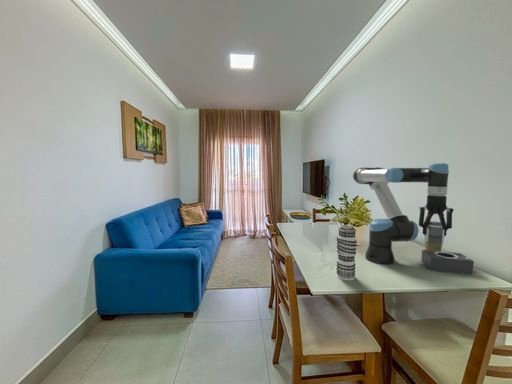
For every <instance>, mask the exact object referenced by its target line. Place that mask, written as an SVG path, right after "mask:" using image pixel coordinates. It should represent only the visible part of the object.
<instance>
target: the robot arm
mask: <svg viewBox="0 0 512 384" xmlns="http://www.w3.org/2000/svg"><path fill="white" fill-rule="evenodd" d="M428 166H429V167H390V168H389V167H388V168H385V167H379V166H378V167H360V168H357V169H356V170H355V171H353V174H352V178H353V181H355V182H356V183H357V184H359V185H369V188H370V189H371V190H373V191H374V193H375V195H376V197H377V199H378V201H379V203H380V206H381V207H382V209H383V211H384V212H383V213H384V214H385V216H386V218H376V219H373V220H371V222H370V223H369V229H368V230H369V234H368V236H369V238H368V240H369V242H368V247H367V249H366V252H365V254H364V255H365V259H366V260H367V261H369V262H372V263H376V264H382V265H391V264H394V263H395V255H394V251H393V248H392V244H393V243H394V242H395V243H396V242H406V243H407V242H411V241H414V240H416V239H417V238H418V234H419V227H421V228H422V235H423V236H424V235H425V236H424V238H423V239H424V242H425V241H426V242H428V237H429V229H428V225H429V222H430V221H432V218H433V216H434V215H437V216H438V218H439V222H441V223H442V233H441V236H442V237H441V243H443V244H444V243H445V240H444V239H445V237H446V236H447V231H448V230H449V229H450V230H451V229H453V212H454V208H451V207H448V206H447V197H448V196H447V194H448V184H449V183H448V182H449V181H448V180H449V174H450V172H449V164H448V163H445V162H444V163H442V162H441V163H430V164H429V165H428ZM389 183H427V191H426V192H427V196H426V205H425V206H419V207H418V208H419V219H418V224H417V223H416V222H415V221H413V220H410V219H409V217H408V215H406V214H403V212H402V210H401V208H400V206H399V205H398V203H397V200H396V199H395V197H394V194H393V193H392V191H391V189H390V187H389V185H388V184H389ZM426 210H427V211H428V212H427V215H425V211H426ZM445 211H446V219H445V215H444V212H445ZM425 216H426V217H425ZM418 226H419V227H418Z"/></svg>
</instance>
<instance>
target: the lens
mask: <svg viewBox="0 0 512 384" xmlns="http://www.w3.org/2000/svg"><path fill="white" fill-rule="evenodd" d="M427 228H428V229H429V237H428V242H429V243H433V244H441V237H442V236H441V233H442V223H441V222H440V221H435V220H433V221H432V220H430V222H429V225H428V227H427Z"/></svg>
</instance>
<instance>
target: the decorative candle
mask: <svg viewBox="0 0 512 384" xmlns="http://www.w3.org/2000/svg"><path fill="white" fill-rule="evenodd" d="M356 232H357V229H356V228H355V227H354V226H352V225H347V224H346V225H345V224H343V225H341V226H340V227H339V228H338V235H337V238H336V241H337V242H336V248H337V250H336V253H337V261H336V272H335V273H336V277H337V278H338V279H339V280H342V281H343V280H344V281H348V282H349V281H354V280H355V279H356V277H355V276H356V274H355V273H356V260H355V259H356V257H355V256H356V255H357V248H356V247H357V246H358V244H357V243H358V241H357V239H356V237H357V236H356Z"/></svg>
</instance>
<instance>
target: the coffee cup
mask: <svg viewBox="0 0 512 384" xmlns="http://www.w3.org/2000/svg"><path fill="white" fill-rule="evenodd" d="M423 236H424V237H425V235H424V234H423ZM443 244H444V243H441V244H433V243H429V242H426V241H425V240H424V250H429V251H441V252H442V248H443Z"/></svg>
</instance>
